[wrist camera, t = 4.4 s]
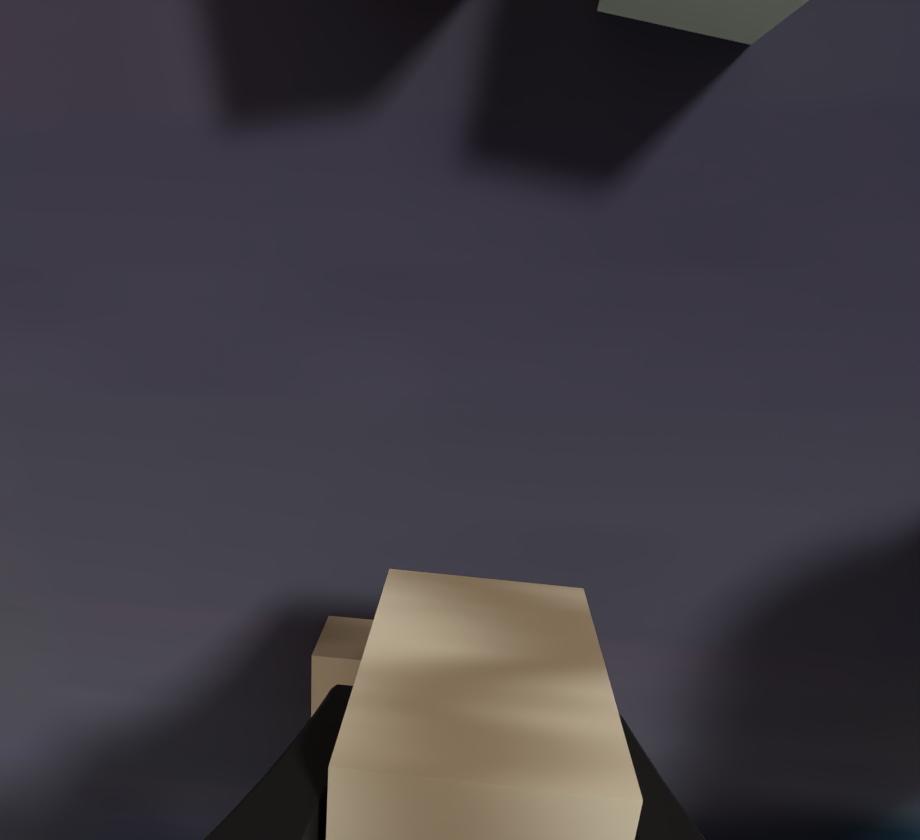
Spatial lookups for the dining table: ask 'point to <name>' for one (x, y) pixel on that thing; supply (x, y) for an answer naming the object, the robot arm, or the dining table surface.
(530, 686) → the maple block
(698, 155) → the dining table surface
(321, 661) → the oak slab
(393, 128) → the dining table surface
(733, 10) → the sage block
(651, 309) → the dining table surface
